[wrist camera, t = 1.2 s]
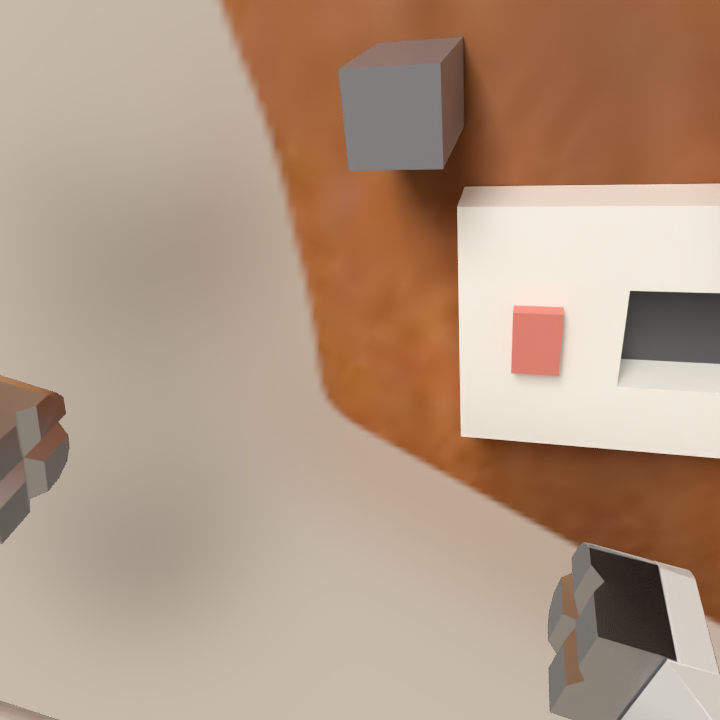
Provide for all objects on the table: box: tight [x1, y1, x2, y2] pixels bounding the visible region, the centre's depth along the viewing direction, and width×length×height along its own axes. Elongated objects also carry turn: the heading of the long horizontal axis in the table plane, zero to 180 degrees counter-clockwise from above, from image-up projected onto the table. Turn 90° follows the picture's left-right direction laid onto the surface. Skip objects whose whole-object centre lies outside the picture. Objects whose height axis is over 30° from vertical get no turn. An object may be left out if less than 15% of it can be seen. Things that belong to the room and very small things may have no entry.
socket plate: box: [457, 184, 720, 458], centre depth 34 cm, size 16×14×4 cm
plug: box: [338, 37, 464, 171], centre depth 29 cm, size 4×4×7 cm
